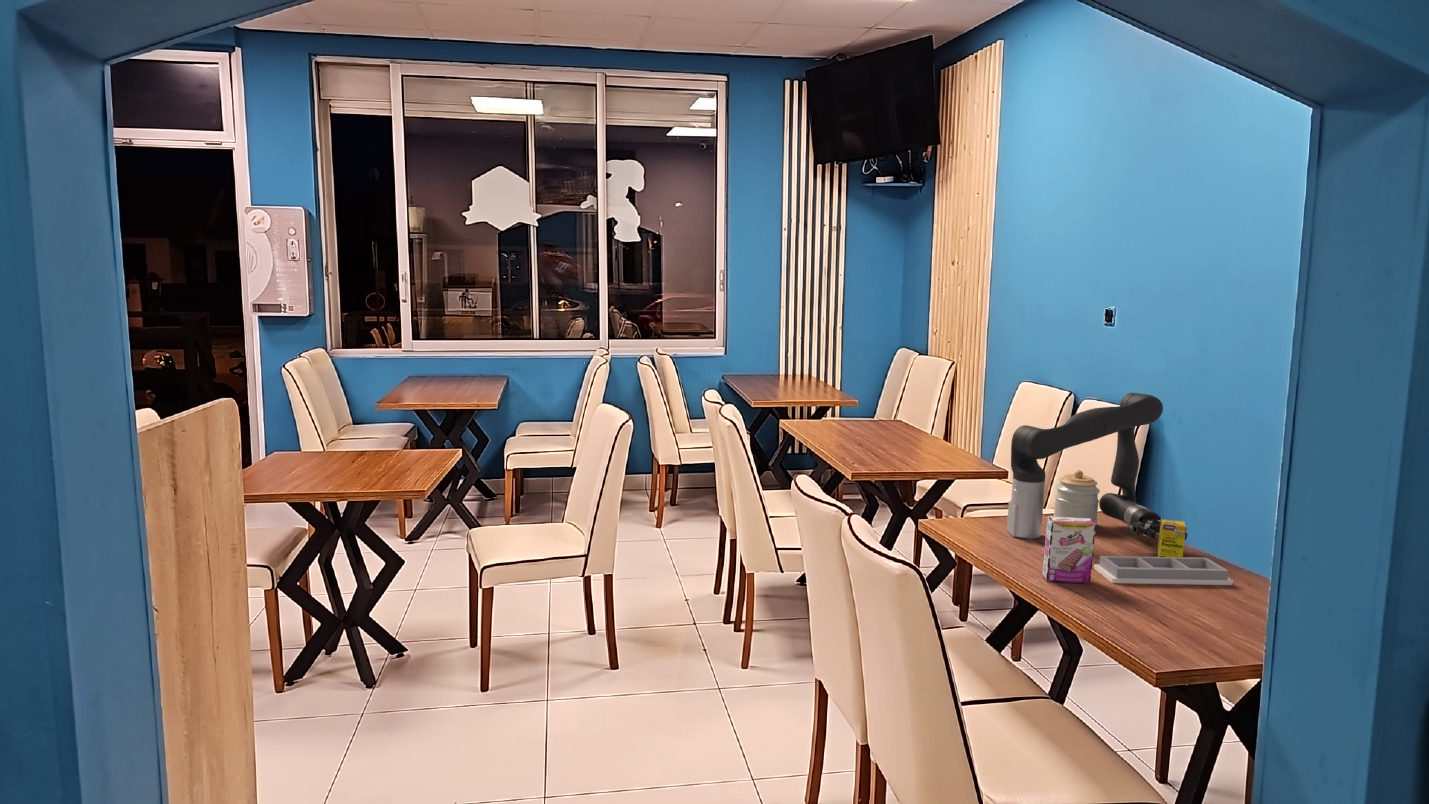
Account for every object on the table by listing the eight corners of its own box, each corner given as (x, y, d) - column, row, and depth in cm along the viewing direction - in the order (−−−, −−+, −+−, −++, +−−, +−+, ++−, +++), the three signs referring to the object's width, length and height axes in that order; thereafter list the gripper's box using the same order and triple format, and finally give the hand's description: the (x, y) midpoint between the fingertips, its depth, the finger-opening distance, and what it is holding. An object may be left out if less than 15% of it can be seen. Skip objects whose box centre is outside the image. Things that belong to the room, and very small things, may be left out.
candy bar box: (1046, 582, 230) (1051, 521, 228) (1041, 576, 235) (1046, 515, 233) (1091, 584, 229) (1096, 522, 227) (1085, 578, 234) (1090, 517, 232)
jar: (1092, 533, 275) (1097, 477, 272) (1048, 525, 282) (1053, 471, 279) (1099, 523, 286) (1104, 469, 283) (1057, 516, 292) (1061, 463, 290)
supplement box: (1158, 561, 248) (1162, 523, 247) (1156, 555, 254) (1160, 518, 252) (1182, 564, 246) (1186, 526, 245) (1180, 558, 252) (1184, 520, 250)
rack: (1112, 583, 231) (1113, 569, 230) (1093, 568, 242) (1094, 555, 241) (1232, 585, 231) (1234, 571, 230) (1208, 570, 242) (1210, 557, 241)
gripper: (1119, 507, 265) (1146, 522, 249) (1167, 508, 266) (1196, 523, 250) (1117, 531, 267) (1143, 548, 251) (1165, 532, 267) (1194, 549, 251)
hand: (1170, 536), depth 250 cm, fingers open, 8 cm apart
